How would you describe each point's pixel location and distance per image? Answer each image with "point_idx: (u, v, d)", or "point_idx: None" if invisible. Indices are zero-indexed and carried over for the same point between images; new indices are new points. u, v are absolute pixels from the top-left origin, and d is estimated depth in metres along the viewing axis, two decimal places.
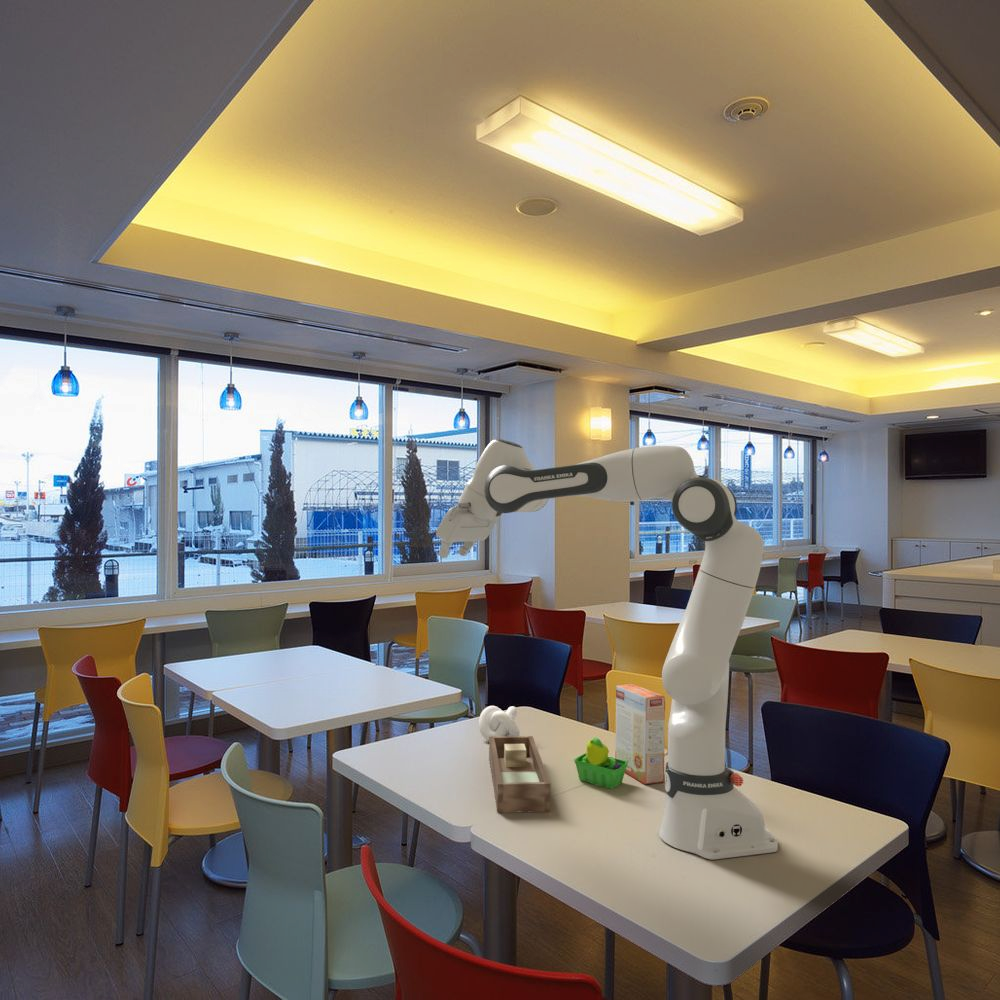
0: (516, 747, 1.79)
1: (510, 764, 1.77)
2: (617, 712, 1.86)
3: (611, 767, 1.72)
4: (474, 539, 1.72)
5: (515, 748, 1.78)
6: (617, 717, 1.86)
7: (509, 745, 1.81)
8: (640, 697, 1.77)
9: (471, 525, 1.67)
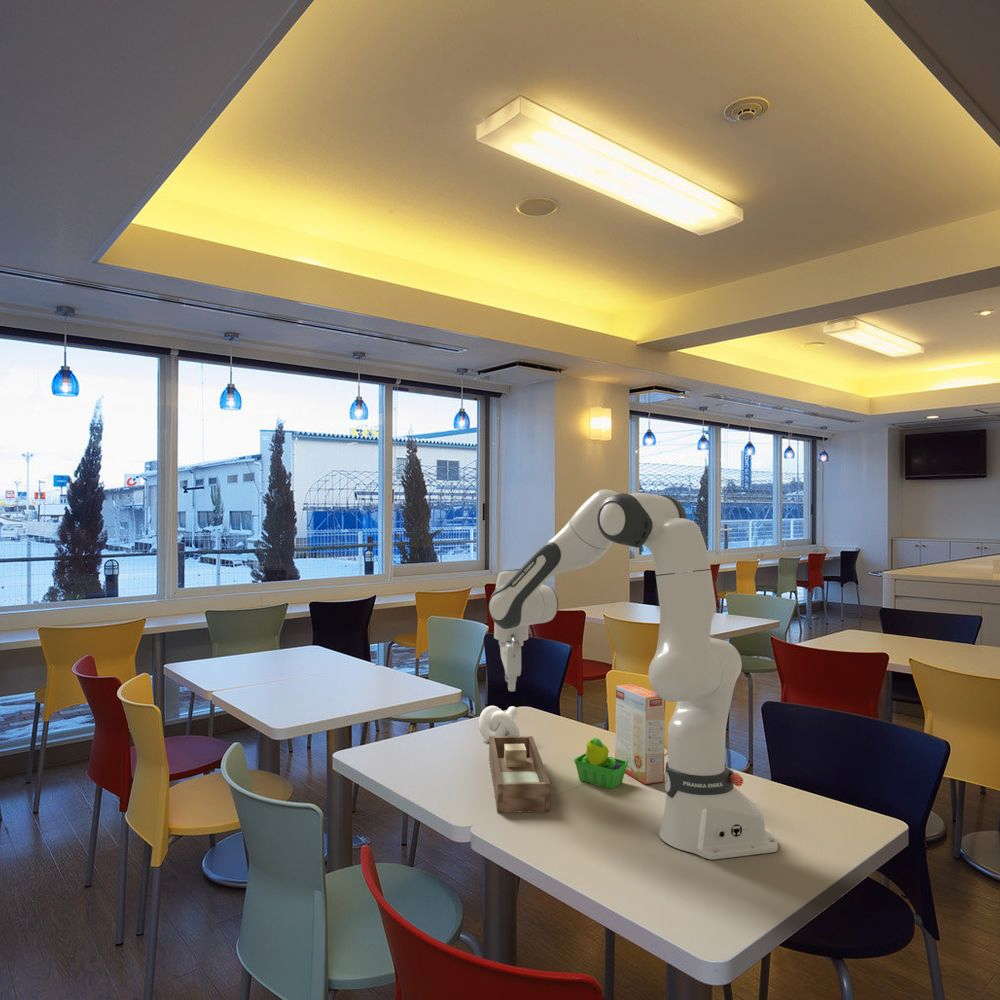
0: (516, 747, 1.79)
1: (510, 764, 1.77)
2: (617, 712, 1.86)
3: (611, 767, 1.72)
4: None
5: (515, 748, 1.78)
6: (617, 717, 1.86)
7: (509, 745, 1.81)
8: (640, 697, 1.77)
9: None
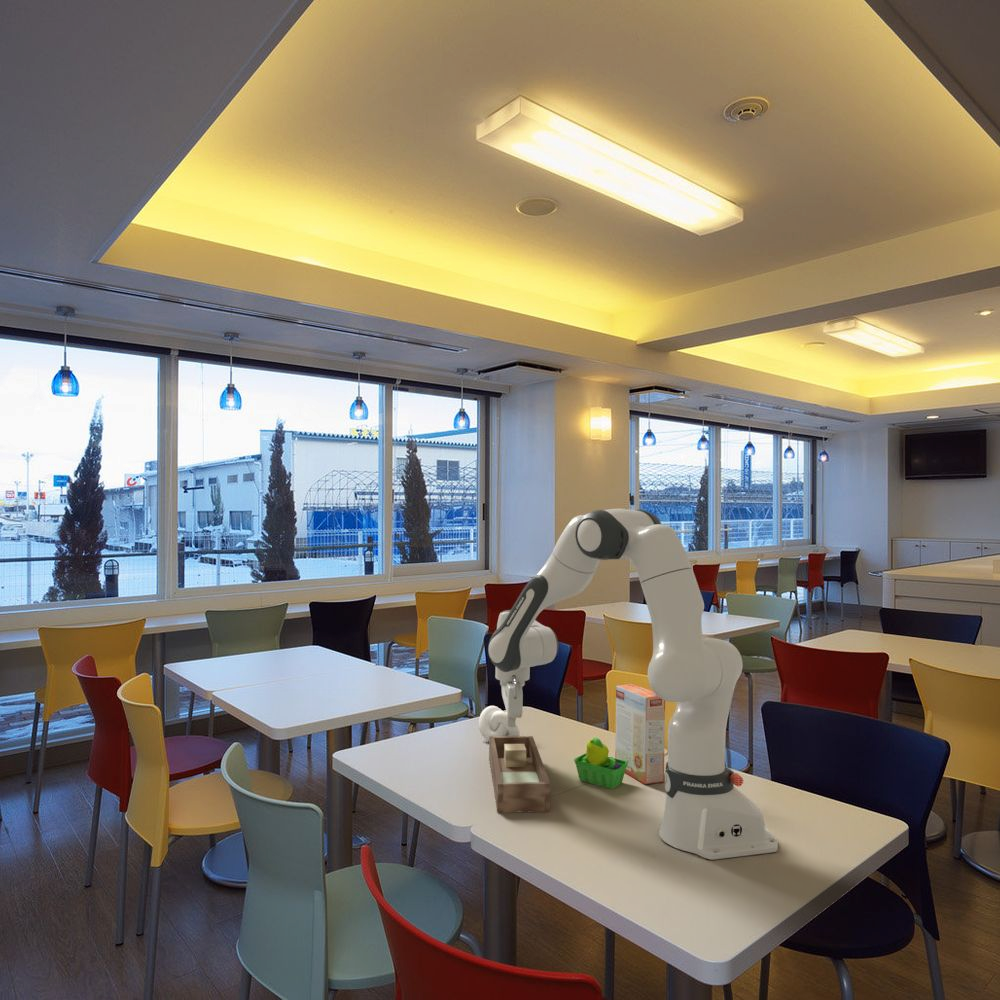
0: (516, 747, 1.79)
1: (510, 764, 1.77)
2: (617, 712, 1.86)
3: (611, 767, 1.72)
4: None
5: (515, 748, 1.78)
6: (617, 717, 1.86)
7: (509, 745, 1.81)
8: (640, 697, 1.77)
9: None
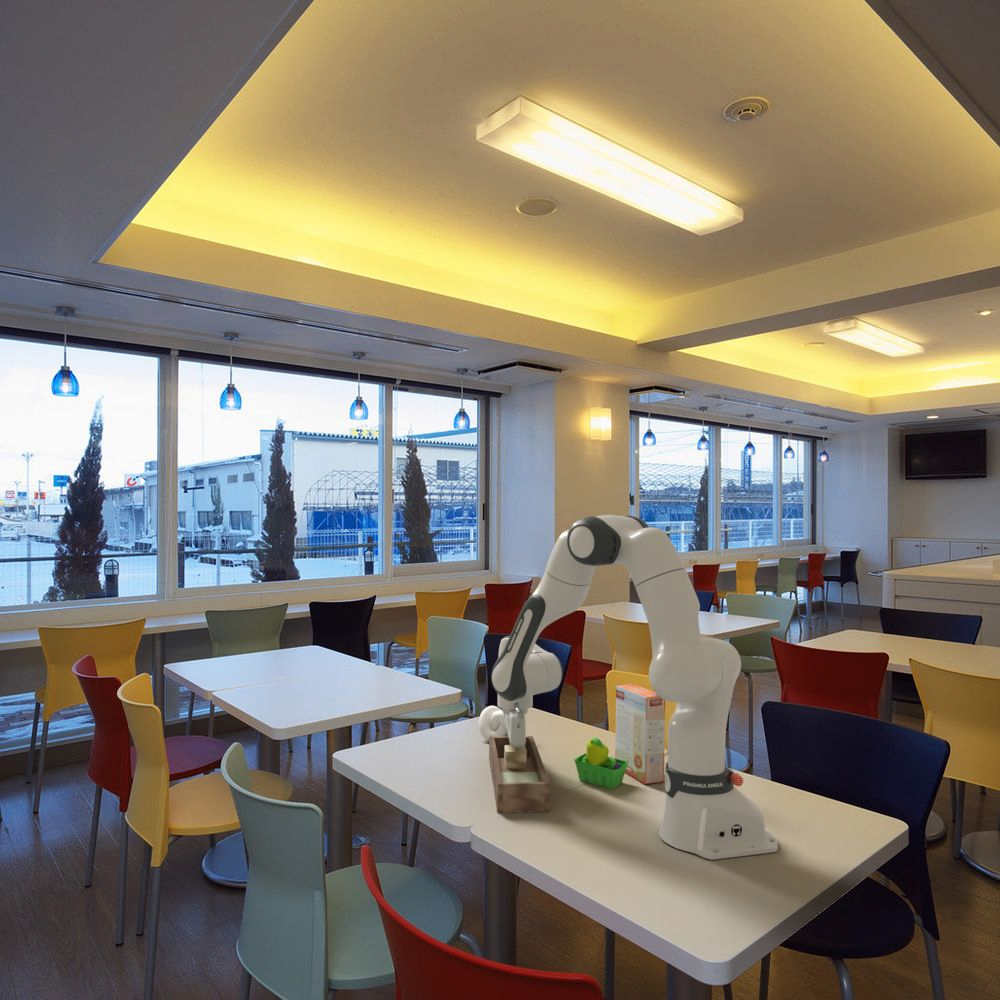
0: (517, 748, 1.78)
1: (510, 765, 1.76)
2: (617, 712, 1.86)
3: (611, 767, 1.72)
4: None
5: (516, 750, 1.77)
6: (617, 717, 1.86)
7: (509, 746, 1.80)
8: (640, 697, 1.77)
9: None
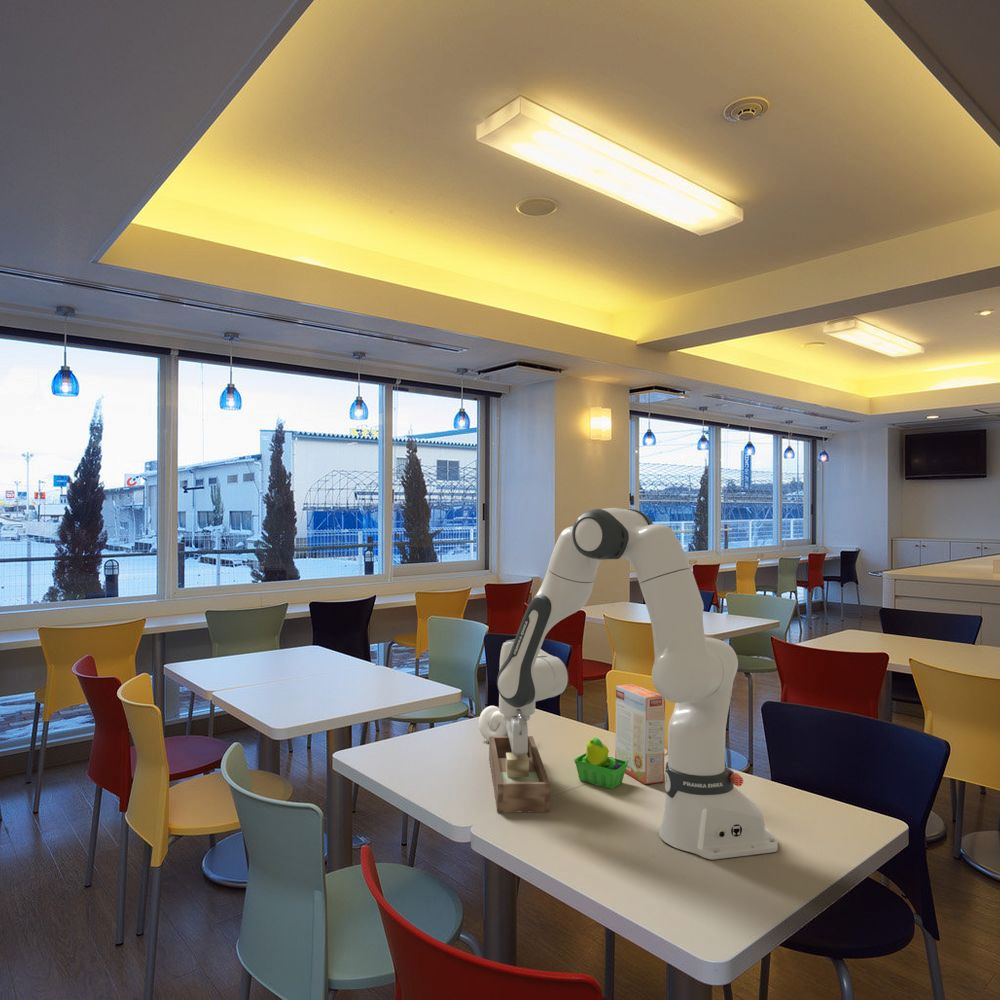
0: (519, 756, 1.73)
1: (512, 774, 1.70)
2: (617, 712, 1.86)
3: (611, 767, 1.72)
4: None
5: (517, 757, 1.71)
6: (617, 717, 1.86)
7: (511, 754, 1.74)
8: (640, 697, 1.77)
9: None
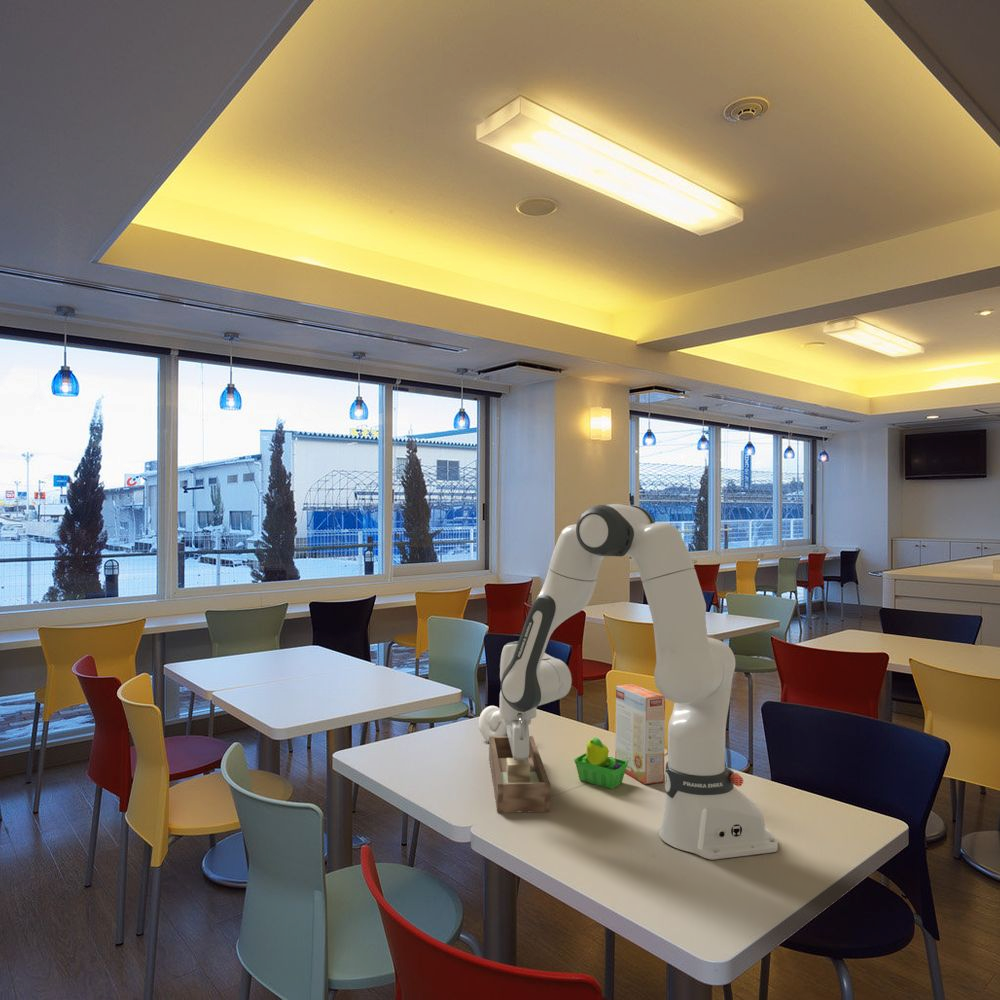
0: (519, 761, 1.69)
1: (512, 780, 1.66)
2: (617, 712, 1.86)
3: (611, 767, 1.72)
4: None
5: (518, 763, 1.68)
6: (617, 717, 1.86)
7: (512, 759, 1.70)
8: (640, 697, 1.77)
9: None
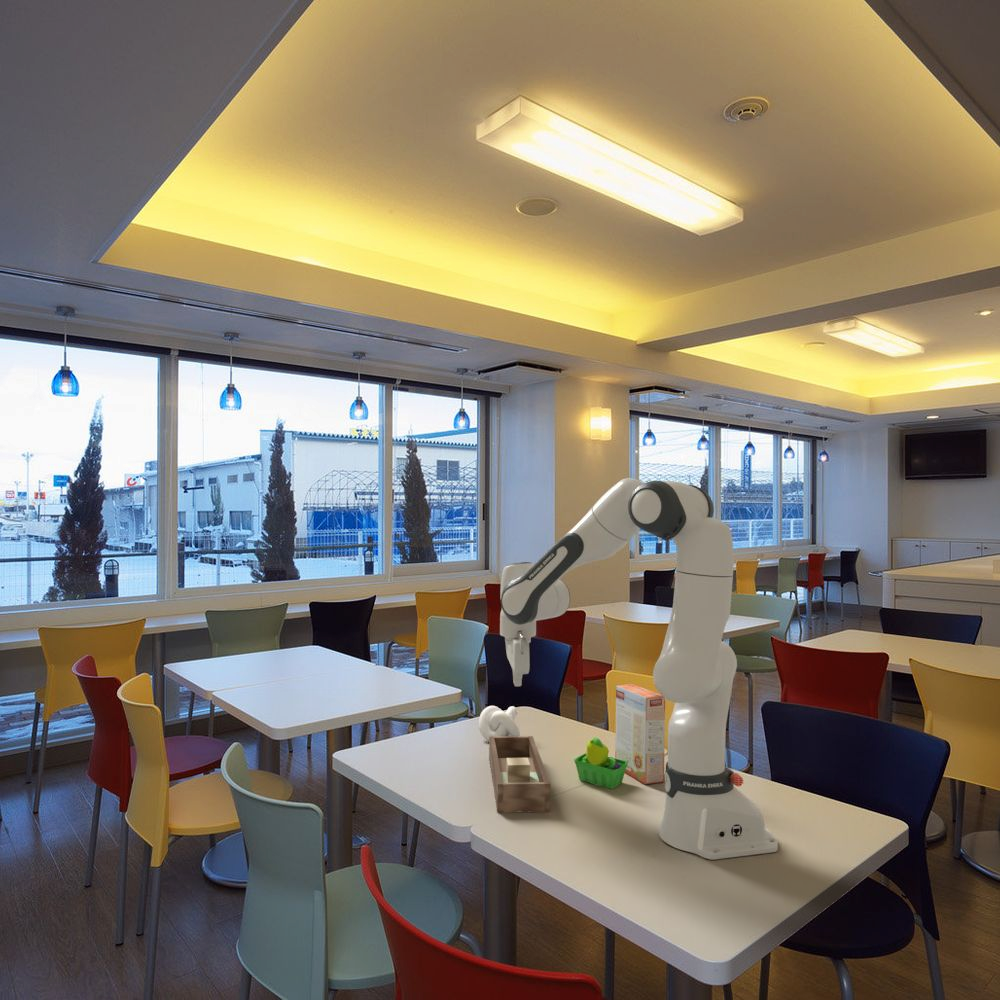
0: (519, 761, 1.69)
1: (512, 780, 1.66)
2: (617, 712, 1.86)
3: (611, 767, 1.72)
4: None
5: (518, 763, 1.68)
6: (617, 717, 1.86)
7: (512, 759, 1.70)
8: (640, 697, 1.77)
9: None
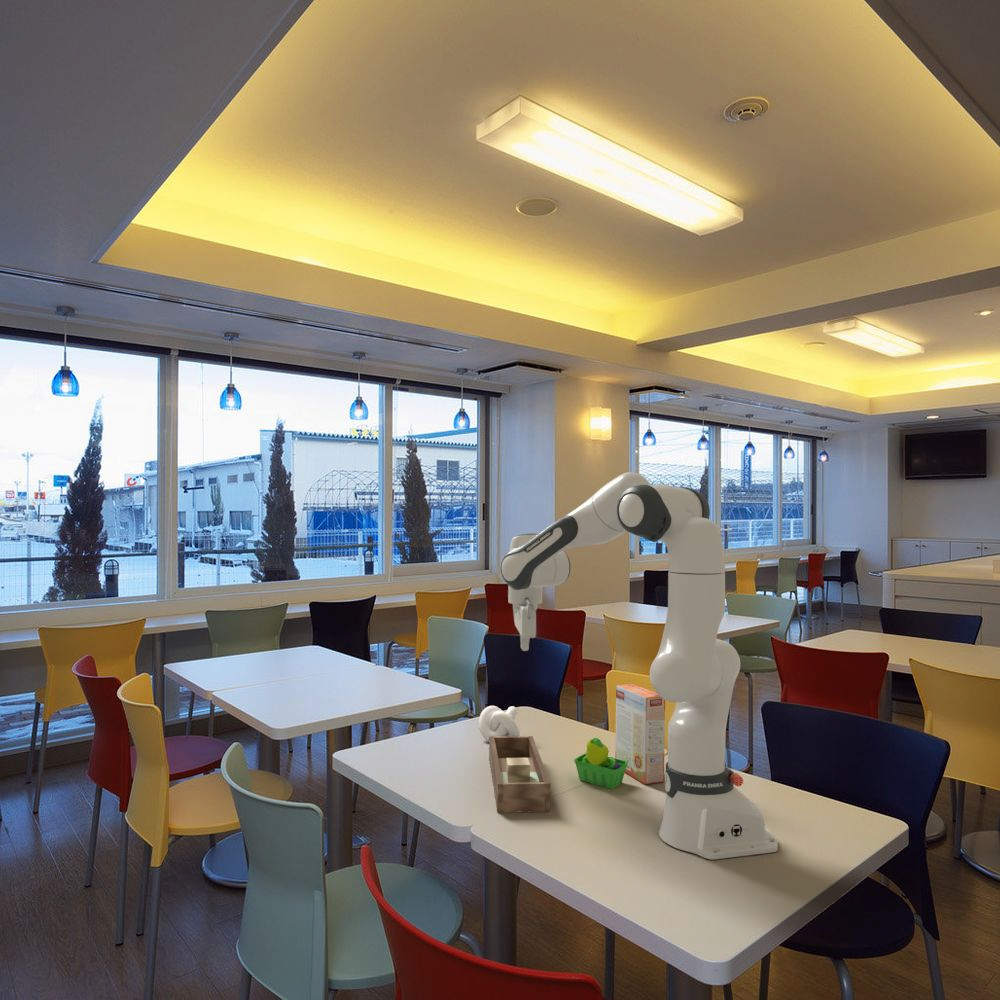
0: (519, 761, 1.69)
1: (512, 780, 1.66)
2: (617, 712, 1.86)
3: (611, 767, 1.72)
4: None
5: (518, 763, 1.68)
6: (617, 717, 1.86)
7: (512, 759, 1.70)
8: (640, 697, 1.77)
9: None
